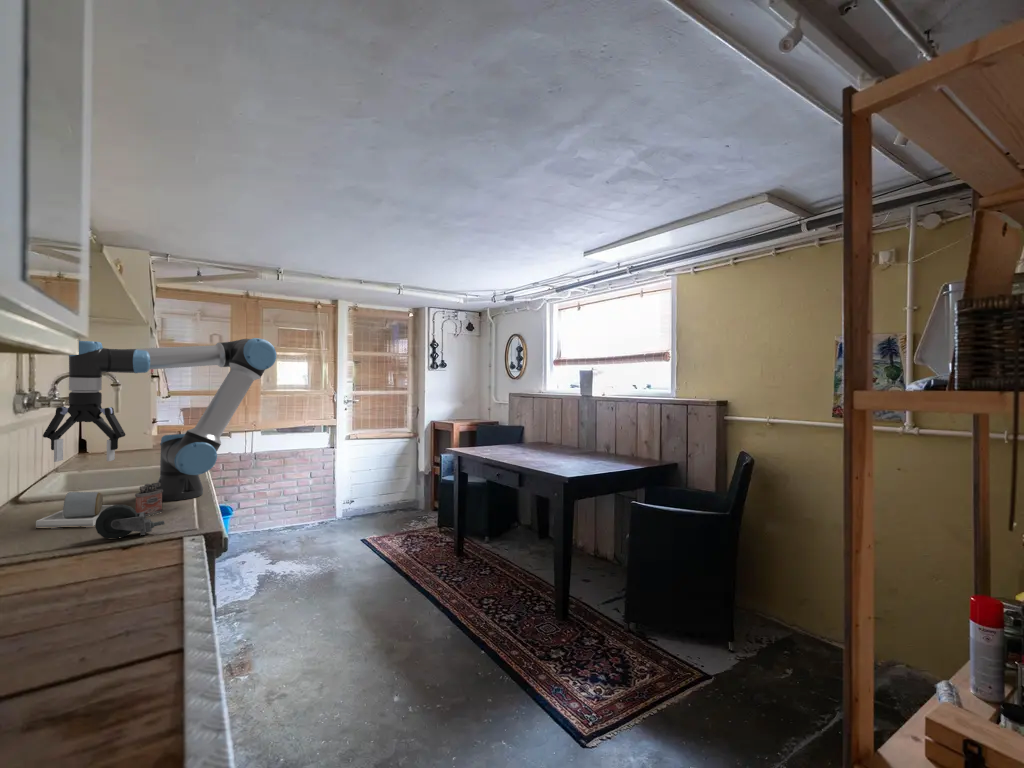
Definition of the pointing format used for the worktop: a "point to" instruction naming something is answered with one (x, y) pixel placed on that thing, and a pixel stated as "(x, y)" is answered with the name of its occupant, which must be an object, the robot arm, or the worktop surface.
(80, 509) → the grey piece
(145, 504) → the red mechanical device
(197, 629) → the worktop surface
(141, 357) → the robot arm
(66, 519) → the trough tray
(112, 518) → the caster wheel
